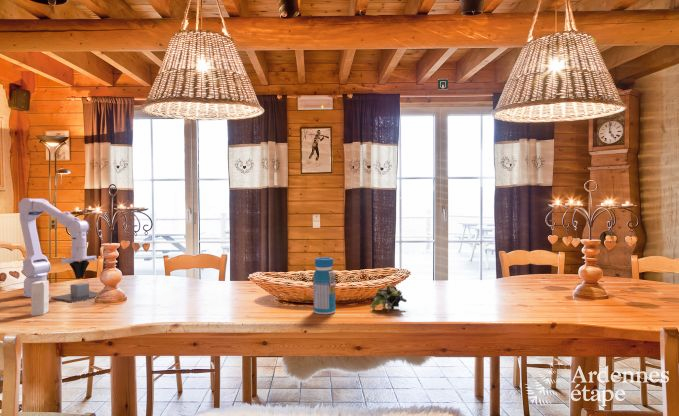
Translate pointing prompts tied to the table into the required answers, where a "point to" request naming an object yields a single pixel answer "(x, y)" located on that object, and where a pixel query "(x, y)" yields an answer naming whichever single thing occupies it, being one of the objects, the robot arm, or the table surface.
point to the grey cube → (79, 289)
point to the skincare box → (39, 298)
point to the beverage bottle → (324, 286)
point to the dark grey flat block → (75, 299)
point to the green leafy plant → (388, 297)
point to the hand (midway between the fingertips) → (79, 278)
